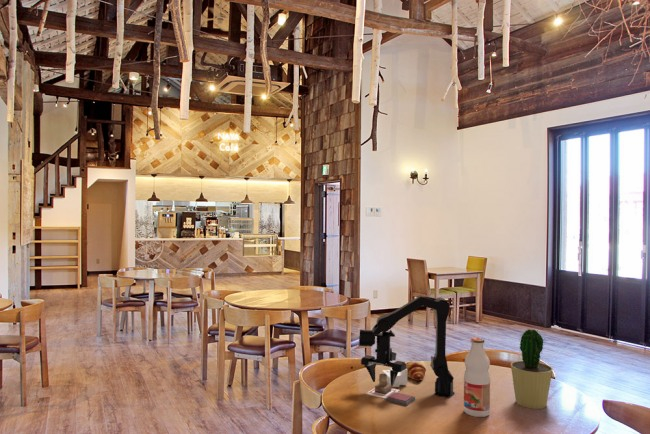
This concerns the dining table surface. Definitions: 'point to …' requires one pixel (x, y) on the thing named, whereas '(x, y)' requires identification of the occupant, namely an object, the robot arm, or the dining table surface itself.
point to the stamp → (382, 385)
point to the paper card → (373, 393)
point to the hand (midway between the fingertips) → (383, 383)
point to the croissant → (415, 370)
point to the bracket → (400, 378)
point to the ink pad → (400, 398)
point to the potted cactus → (531, 373)
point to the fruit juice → (477, 380)
